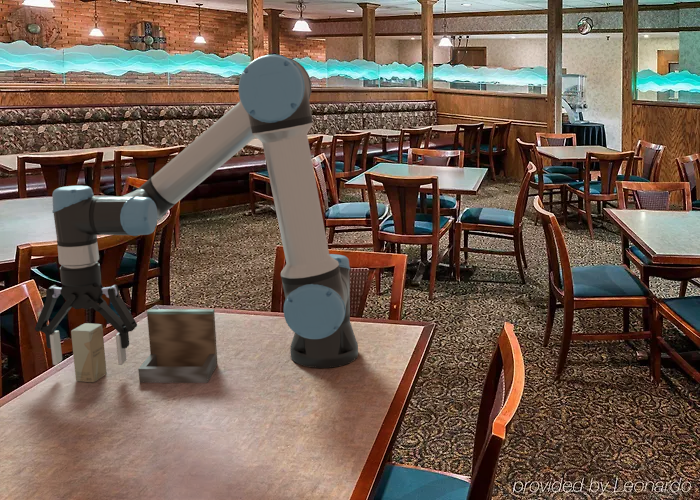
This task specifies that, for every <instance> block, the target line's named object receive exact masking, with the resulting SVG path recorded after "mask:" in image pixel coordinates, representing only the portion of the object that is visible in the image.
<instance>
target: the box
mask: <svg viewBox="0 0 700 500" xmlns="http://www.w3.org/2000/svg"><path fill="white" fill-rule="evenodd" d="M70 334H71V343H72V355H73V364H74V374H75V381H76V382H82V383H83V382H84V383H85V382H86V383H95V382H96V381H99V380H100V379H101V378H103V377H104V376H105V375H106V374H107V363H106V353H105V343H104V340H105V339H104V330H103V324H100V323H91V322H90V323H89V322H87V323H86V322H85V323H83V324H80V325H79V326H77V327H75V328H73V329H72V330H70Z"/></svg>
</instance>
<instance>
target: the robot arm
mask: <svg viewBox="0 0 700 500" xmlns="http://www.w3.org/2000/svg"><path fill="white" fill-rule="evenodd" d="M311 94H312V81H311V78H310V75H309V73H308V71H307V69H306V68H304V66H303V65H302V64H301V63H300V62H298V61H297V60H295V59H292V58H290V57H286V56H284V55H282V54H276V53H275V54H265V55H262V56H259V57H258V58H254V60H252V61H251V62H249V64H248V65H246V67H245V68H244V70H242V73H241V75H240V77H239V82H238V97H239V101H238V103H236V104H235V105H234V106H233V107H232V108H230V109H229V110H228V111H227V112H226V113H225V114H223V116H221V117H220V118H219V119H218V120H217V121H215V122H214V123H213V124H212V125H211V126H209V127H208V128H207V129H206V130H205V131H204V132H202V133H201V134H200V135H199V136H198V137H197V138H195V139H194V140H193V141H192V142H191V143H190V144H189V145H187V146H186V147H185V148H183V150H182V151H180V152H179V153H178V154H177V155H176V156H174V158H172V159H171V160H170V161H168V163H166V164H165V165H164V166H163V167H161V168H160V169H159V170H158V171H157V172H156V173H155V174H153V175H152V176H151V177H150V178H149V179H147V180H146V181H145V182H144V183H143V184H142V185H140V186H139V187H138V188H137V189H136V190H133V191H130V192H129V193H126V194H124V195H121V196H94V191H93V189H92V187H90V186H88V185H68V186H67V185H66V186H62V187H61V186H60V187H58V188H56V189H54V190H53V191H52V196H51V197H52V214H53V218H54V226H55V227H54V228H55V234H56V244H57V253H58V255H57V256H58V258H57V259H58V263H59V265H61V266H60V267H59V273H60V283H61V285H62V286H61V287H59V286H57V285H56V284H53V285H51V286H49V287H48V288H47V289H46V293H45V294H46V295H45V301H44V304H43V306H42V309H41V311H40V314H39V316H38V319H37V320H36V321H37V322H36V324H35V327H34V330H35V331H36V332H41V333H43V334H44V335H45V341H46V347H47V349H50V351H51V359H52V365H53V366H57V365H58V364H59V363H60V362H62V361H63V353H62V352H63V351H62V345H61V337H60V336H61V335H60V330H56V329H57V327H58V326H59V324H60V323H61V321H62V320H63V319H64V318H65V317H66V315H67V314H68V313H69V311H70V310H71V309H72V308H73V309H74V310H80V309H84V310H91V309H93V310H94V311H95V312H98V313H99V314H100V315H101V316H102V317H103V318H104V319H105V320H106V321H107V323H109V324H110V325H111V326H112V327H113V328H114V329H115V331H117V333H116V334H115V343H116V344H115V345H116V354H117V355H116V356H117V364H118V366H122V365H123V364H124V363H125V362H126V361H127V351H126V349H128V347H129V346H130V337H129V332H130V333H131V332H132V331H134V330H135V329H136V328H137V326H138V323H137V321H136V320H135V318H134V316H133V315H132V314H131V312H130V310H129V308H128V306H127V305H126V304H125V302H124V300H123V298H122V296H121V295H120V292H119V287H118V285H117V284H113V285H111V286H106V287H105V286H103V283H102V275H101V274H102V273H101V265H100V263H99V262H98V261H99V260H100V255H99V254H100V253H99V246H98V236H133V237H138V236H147V235H151V234H153V233H154V232H155V230H156V227H157V225H158V221H159V220H160V219H161V218H163V217H164V216H165V215H166V214H167V213H168V211H169V210H170V209H171V208H173V207H174V206H175V205H176V204H177V203H178V202H180V201H182V199H183V198H185V197H186V196H187V195H188V194H189V193H191V192H192V191H193V190H194V189H196V187H197V186H199V185H200V184H201V183H203V182H204V181H205V180H206V179H207V178H208V177H210V176H211V175H212V174H214V172H216V171H217V170H218V169H219V168H220V167H222V166H223V165H224V164H225V163H227V162H228V161H229V160H230V159H232V157H233V156H235V155H236V154H238V152H240V151H241V150H242V149H243V148H244V147H246V146H247V145H248V144H249V143H250V142H251V141H253V140H254V139H257V140H259V141H260V142H261V143H262V147H263V152H264V158H265V162H266V168H267V172H268V173H267V174H268V179H269V184H270V187H271V193H272V198H273V202H274V208H275V213H276V218H277V222H278V228H279V232H280V238H281V243H282V248H283V252H284V253H283V254H284V258H285V262H286V263H285V266H284V267H283V268H282V270H281V272H280V277H281V282H282V288H283V292H284V297H285V299H284V303H283V317H284V320H285V322H286V325H287V326H288V327H289V329H290V330H291V331H292V332H293V333H294V334H293V337H292V341H291V343H290V348H289V349H290V358H291V360H292V361H293V362H294V363H296V364H298V365H301V366H302V367H303V366H304V367H308V368H309V367H310V368H314V369H315V368H318V369H319V368H320V369H322V368H323V369H326V368H327V369H329V368H337V367H341V366H345V365H348V364H351V363H352V362H354V361H355V360H356V359H357V358H358V356H359V345H358V341H357V338H356V336H355V331H354V330H353V326H352V324H351V311H350V310H351V307H350V305H351V299H350V297H351V296H350V295H351V294H350V292H351V291H350V284H351V283H350V272H351V267H350V259H349V258H348V257H347V256H346V255H342V254H336V253H335V254H334V253H330V250H329V246H328V240H327V236H326V235H327V234H326V229H325V225H324V224H325V223H324V219H323V214H322V208H321V201H320V198H319V197H320V196H319V191H318V186H317V180H316V176H315V170H314V165H313V159H312V154H311V148H310V143H309V139H308V134H309V132H310V130H311V128H312V127H313V125H314V119H313V116H312V115H313V114H312V108H311V102H310V99H311V96H312V95H311ZM60 295H61V297H63V298H64V300H65V302H64V303H63V304H62V306H61V307H60V309H59V310H58V312H57V313H56V314H55V315H54V317H53V318H52V319H51V321H50V322H49V319H50V317H51V315H52V312H53V309H54V307H55V304H56V302H57V299H58V298H59V296H60ZM103 295H105V297H106V298H108V299H109V301H110V303H111V305H112V307H113V308H114V310H115V311H114V310H113V309H112V308H111V307H110V306H109V305H108V303H107V301H106V300H105V299H104V298H103V297H102V296H103ZM48 322H49V323H48Z"/></svg>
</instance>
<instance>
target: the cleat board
mask: <svg viewBox="0 0 700 500" xmlns="http://www.w3.org/2000/svg"><path fill="white" fill-rule="evenodd" d="M146 315H147V316H146V317H147V318H146V319H147V327H148V328H147V329H148V340H149V350H150V352H149V353H150V354H149V355H148V357H146V359H145V360H144V361H143V363H142V364H141V365H140V366H139V368H138V370H137V372H138V379H139V381H138V383H140V384H141V383H142V384H143V383H145V384H146V383H153V384H154V383H156V384H157V383H159V384H160V383H161V384H163V383H167V384H168V383H171V384H172V383H174V384H175V383H176V384H177V383H180V384H181V383H183V384H185V383H187V384H189V383H193V384H194V383H195V384H197V383H200V384H201V383H205V384H206V383H207V384H208V383H209V380H210V379H211V377H212V375H213V373H214V372H215V370H216V368H217V366H218V352H217V351H218V350H217V333H216V319H215V317H216V316H215V315H216V314H215V309H214V308H213V309H212V308H207V309H206V308H202V309H201V308H200V309H199V308H192V309H191V308H187V309H186V308H185V309H184V308H182V309H181V308H180V309H179V308H178V309H177V308H176V309H175V308H174V309H172V308H171V309H170V308H169V309H167V308H164V309H163V308H162V309H161V308H160V309H159V308H155V309H154V308H153V309H150V308H149V309H148V310H147V311H146Z"/></svg>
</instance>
